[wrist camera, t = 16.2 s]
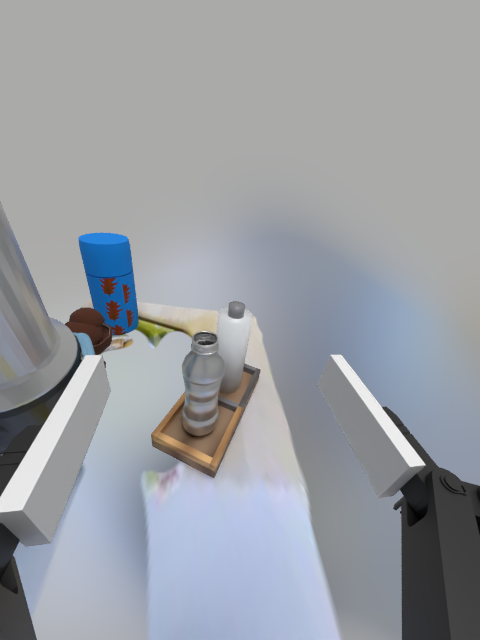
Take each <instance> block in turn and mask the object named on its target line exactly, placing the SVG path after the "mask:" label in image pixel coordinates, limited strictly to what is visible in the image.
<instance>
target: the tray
mask: <svg viewBox="0 0 480 640" xmlns="http://www.w3.org/2000/svg"><path fill="white" fill-rule="evenodd" d="M259 374H260V369H257V368H255V367H252V366H249V365H247V364H244V368H243V373H242V379H241V384H240V388H239V389H238V390H237V391H236V392H234V393H231V394H223V393H220V392H219V394H218V409H219V419H218V422H217V425H216V427H215V428H214V429H213V431H211V432H210V433H208V434H206V435H203V436H195V435H192V434H190V433H188V432H187V431H186V430H185V429H184V427H183V424H182V420H181V414H182V410H183V407H184V402H185V393H184V394H183V395H182V396H181V397H180V399H179V400H178V401H177V402H176V404H175V405H174V406H173V408H172V409H171V410H170V411H169V413H168V414H167V415H166V416H165V418H164V419H163V420H162V422H161V423H160V424H159V425H158V427H157V428H156V429H155V431H154V432H153V433H152V434H151V437H152V445H153V447H155V448H157V449H159V450H161V451H163V452H165V453H167V454H169V455H171V456H173V457H174V458H176V459H178V460H180V461H182V462H184V463H186V464H188V465H190V466H192V467H194V468H196V469H198V470H200V471H202V472H204V473H206V474H207V475H209V476H211V477H213V478H214V477H215V475H216V472H217V470H218V468H219V466H220V463H221V461H222V459H223V457H224V455H225V452H226V450H227V448H228V446H229V443H230V441H231V439H232V437H233V435H234V432H235V430H236V428H237V426H238V424H239V421H240V419H241V417H242V415H243V412H244V410H245V408H246V406H247V404H248V401H249V399H250V397H251V395H252V392H253V390H254V388H255V386H256V384H257V381H258V378H259Z"/></svg>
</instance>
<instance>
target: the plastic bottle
mask: <svg viewBox="0 0 480 640" xmlns="http://www.w3.org/2000/svg"><path fill="white" fill-rule="evenodd" d="M218 341H219V339H218V336H217V335H216V334H215V333H213V332H209V331H200V332H197V333H195V334H194V335H193V337H192V344H191V350H192V351H190V353H189V354H188V355H187V356H186V357H185V359H184V361H183V364H182V373H183V377H184V383H185V402H184V407H183V410H182V414H181V420H182V424H183V427H184V429H185V430H186V431H187V432H188V433H190V434H192V435H195V436H203V435H206V434H208V433H210V432H211V431H213V429H214V428H215V427H216V425H217V422H218V419H219V409H218V394H219V389H220V385H221V382H222V379H223V376H224V373H225V368H226V366H225V362H224V359H223V357H222V356H221V354H220V353H219V352H218V349H219V345H218Z"/></svg>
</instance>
